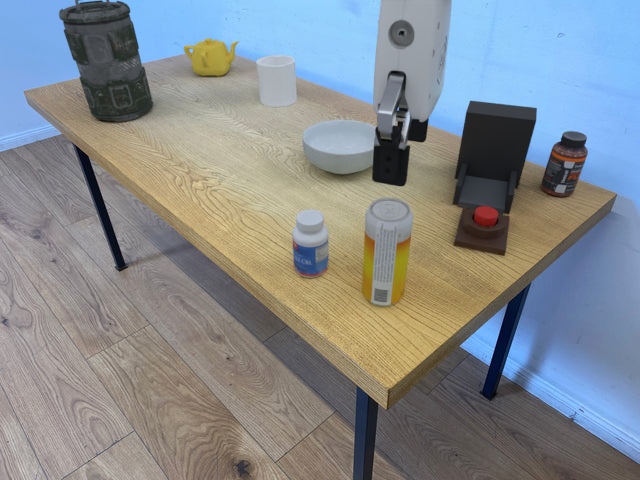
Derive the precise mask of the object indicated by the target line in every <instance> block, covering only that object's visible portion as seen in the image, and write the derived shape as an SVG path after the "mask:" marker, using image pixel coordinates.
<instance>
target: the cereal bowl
mask: <svg viewBox="0 0 640 480" xmlns="http://www.w3.org/2000/svg"><path fill="white" fill-rule="evenodd" d="M376 127H377V126H375V125H374V124H371V123H368V122H366V121H361V120H355V119H330V120H324V121H319V122H317V123H314V124H312V125H311V124H310V126H308V127H307V128H305V130H303V133H302V137H301V140H302V141H301V142H302V149H303V153H304V155H305V157H306V158H307V160H308V161H309V162H310V163H311V164H312V165H313V166H314V167H316V168H318V169H320V170H322V171H325V172H328V173H331V174H334V175H351V174H354V173H359V172H362V171H365V170H367V169H369V168H370V167H373V152H374V138H375V133H376V132H375V129H376Z"/></svg>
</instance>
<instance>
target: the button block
mask: <svg viewBox="0 0 640 480" xmlns="http://www.w3.org/2000/svg"><path fill="white" fill-rule="evenodd" d="M476 209H477V208H476ZM476 209H469V208H463V207H462V209H461V214H460V218H459V221H458V225H457V229H456V233H455V237H454V241H453V246H454V247H458V248H459V247H460V248H464V249H468V250H474V251H478V252H479V251H480V252H484V253H488V254H494V255H499V256H505V255H506V252H507V247H508V236H509V228H510V220H511V219H510V217H511V216H509V215H504V214H500V213H498V217H497V221H496V224H495V225H494V226H488V227H487V226H482V225H479V224H477V223H475V221H474V215H475V210H476Z"/></svg>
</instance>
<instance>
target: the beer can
mask: <svg viewBox="0 0 640 480" xmlns="http://www.w3.org/2000/svg"><path fill="white" fill-rule="evenodd" d="M364 218H365V219H364V238H363V258H362V259H363V260H362V281H361V292H362V295H363V297H364V298H365V299H367V301H368V302H369V303H371V304H373V305H374V306H377V307H390V306H393V305H395V304H396V303H398V302H400V301H401V300H402V299H403V297H404V295H405V290H406V282H407V273H408V265H409V257H410V249H411V241H412V240H411V239H412V232H413V224H414V215H413V212H412V208H411V206H410V204H409V203H407V202H406V201H404V200H403V199H400V198H398V197H397V198H396V197H387V196H386V197H380V198H377V199H374V200H373V201H371V203H370V204H369V206H368V208H367V210H366V212H365V217H364Z"/></svg>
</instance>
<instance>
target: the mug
mask: <svg viewBox="0 0 640 480" xmlns="http://www.w3.org/2000/svg"><path fill="white" fill-rule="evenodd" d="M256 72H257V73H256V74H257V81H258V93H259V94H258V95H259V101H260V104H261V105H262V106H265V107H269V108H284V107H289V106H292V105H294V104H295V103H296V102H297V101H298V94H297V93H298V92H297V91H298V90H297V75H296V73H297V72H296V60H295V58H294V57H293V56H289V55H284V54H273V55H272V54H271V55H266V56H262V57H260V58H258V59H257V60H256Z"/></svg>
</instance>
